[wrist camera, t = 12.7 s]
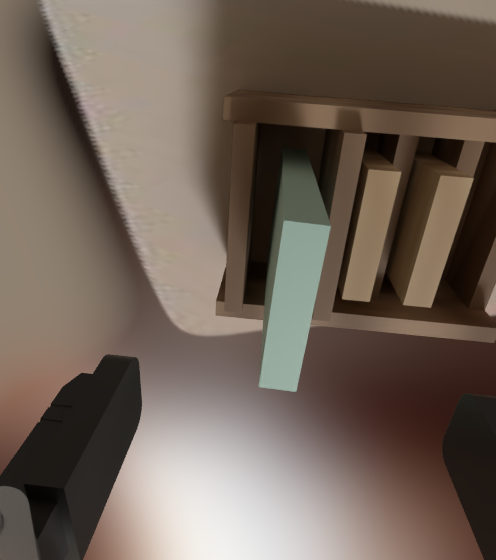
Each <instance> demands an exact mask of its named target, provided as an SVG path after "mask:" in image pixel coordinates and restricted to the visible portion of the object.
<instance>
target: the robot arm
mask: <svg viewBox="0 0 496 560" xmlns="http://www.w3.org/2000/svg"><path fill="white" fill-rule="evenodd" d="M141 407H142V398H141V384H140V371H139V361H138V359H137V358H136V357H127V356H118V355H109V354H108V355H105V356H104V357H103V359H102V360H101V362H100V364H99V365H98V367H97V368H96V370H95V371H94V373H93V374H87V373H81V374H79V375H78V376H77V377H76V378H74V379H73V380H71V381H70V382H69V383H67V384H66V385H65V386H63V387H62V389H61V390H60V392H59V393H58V394H57V396H56V397H55V399H54V400H53V402H52V403H51V406H50V408H48V409H47V410H46V412H45V413H44V414H43V416H42V417H41V420H40V422H38V423H37V424H36V426H35V427H34V429H33V430H32V432H31V433H30V434H29V436H28V437H27V439H26V440H25V441H24V443H23V444H22V446H21V447H20V449H19V450H18V451H17V453H16V454H15V456H14V457H13V459H12V460H11V461H10V463H9V464H8V466H7V467H6V468H5V470H4V471H3V473H2V474H1V476H0V560H83V558H84V556H85V553H86V551H87V549H88V546H89V544H90V541H91V539H92V536H93V534H94V532H95V529H96V527H97V524H98V522H99V519H100V517H101V514H102V512H103V510H104V507H105V505H106V502H107V500H108V498H109V495H110V493H111V490H112V488H113V485H114V483H115V481H116V478H117V476H118V473H119V471H120V469H121V466H122V464H123V461H124V459H125V457H126V454H127V451H128V449H129V447H130V444H131V442H132V440H133V437H134V435H135V432H136V430H137V427H138V424H139V420H140V416H141V409H142V408H141ZM442 445H443V446H442V452H443V459H444V462H445V465H446V467H447V470H448V472H449V475H450V477H451V480H452V482H453V485H454V487H455V490H456V492H457V495H458V497H459V499H460V502H461V504H462V507H463V509H464V512H465V514H466V516H467V519H468V521H469V524H470V526H471V529H472V531H473V533H474V536H475V538H476V541H477V543H478V545H479V548H480V551H481V553H482V555H483V558H484V560H496V397H494V396H484V395H475V394H464V395H462V396H461V398H460V400H459V402H458V404H457V406H456V409H455V411H454V414H453V416H452V418H451V421H450V423H449V426H448V428H447V430H446V433H445V435H444V438H443V444H442Z"/></svg>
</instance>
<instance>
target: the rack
mask: <svg viewBox="0 0 496 560" xmlns="http://www.w3.org/2000/svg"><path fill="white" fill-rule="evenodd" d="M223 120H229V121H235V122H234V123H233V140H232V161H231V181H230V202H229V222H228V242H227V263H226V268H225V271H224V275H223V279H222V282H221V286H220V289H219V293H218V296H217V300H216V315H217V316H227V317H237V318H247V319H257V320H263V319H264V304H265V290H266V276H267V262H268V248H269V241H270V233H271V226H272V219H273V212H274V204H275V197H276V190H277V182H278V175H279V168H280V160H281V153H282V147H288V148H297V149H305V150H306V151H307V154H308V157H309V160H310V163H311V166H312V169H313V172H314V175H315V178H316V181H317V185H318V188H319V191H320V194H321V197H322V200H323V203H324V206H325V209H326V212H327V215H328V218H329V222H330V225H331V228H330V233H329V238H328V243H327V247H326V252H325V257H324V262H323V266H322V271H321V276H320V281H319V285H318V290H317V295H316V300H315V304H314V309H313V314H312V319H311V324H310V325H318V326H328V327H339V328H349V329H360V330H369V331H380V332H390V333H400V334H410V335H420V336H430V337H440V338H450V339H460V340H471V341H481V342H491V343H494V341H495V339H496V323H495V322H494V321H493V320H492V319H491V317H490V316H489V315H488V314H487V313H486V312H485V308H486V306H487V303H488V301H489V298H490V296H491V293H492V291H493V288H494V286H495V284H496V111H493V110H481V109H468V108H456V107H443V106H431V105H418V104H406V103H393V102H381V101H369V100H356V99H344V98H331V97H319V96H306V95H294V94H281V93H269V92H256V91H244V90H238V91H236V92H234V93H231V94H229V95H227V96H225V97H224V105H223ZM365 146H368V147H372V148H373V149H374V150H376V151H377V152H378V153H379V154H380V155H382V156H383V157H384V158H385V159H386V160H388V161H389V162H390V163H391V164H392V165H394V166H395V167H396V168H397V169H398V170H400V171H401V176H400V180H399V184H398V188H397V192H396V197H395V201H394V205H393V209H392V213H391V217H390V221H389V225H388V229H387V233H386V237H385V241H384V245H383V250H382V254H381V258H380V262H379V266H378V270H377V274H376V278H375V282H374V286H373V290H372V294H371V298H370V302H366V301H355V300H345V299H342V297H341V294H340V290H339V286H338V279H339V274H340V269H341V264H342V259H343V253H344V248H345V243H346V238H347V233H348V228H349V223H350V218H351V213H352V208H353V203H354V198H355V193H356V187H357V182H358V177H359V172H360V167H361V162H362V157H363V152H364V147H365ZM416 151H426V152H427V153H429V154H431V155H433V156H435V157H436V158H438V159H440V160H442V161H444V162H445V163H447V164H449V165H451V166H453V167H454V168H456V169H458V170H460V171H462V172H463V173H465V174H467V175H469V176H471V177H472V178H474V179H473V182H472V185H471V188H470V191H469V194H468V197H467V200H466V203H465V206H464V209H463V213H462V216H461V219H460V222H459V225H458V228H457V231H456V234H455V237H454V240H453V243H452V246H451V249H450V252H449V255H448V258H447V261H446V264H445V267H444V270H443V273H442V276H441V279H440V282H439V285H438V288H437V291H436V294H435V297H434V300H433V303H432V306H431V308H428V307H418V306H407V305H403V304H402V302H401V300H400V298H399V296H398V295H397V293H396V291H395V289H394V287H393V285H392V283H391V281H390V279H389V277H388V275H387V274H386V272H385V270H386V266H387V262H388V258H389V254H390V250H391V246H392V242H393V238H394V234H395V231H396V227H397V223H398V219H399V215H400V211H401V207H402V203H403V199H404V195H405V191H406V187H407V184H408V180H409V176H410V172H411V168H412V164H413V160H414V156H415V152H416Z"/></svg>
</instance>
